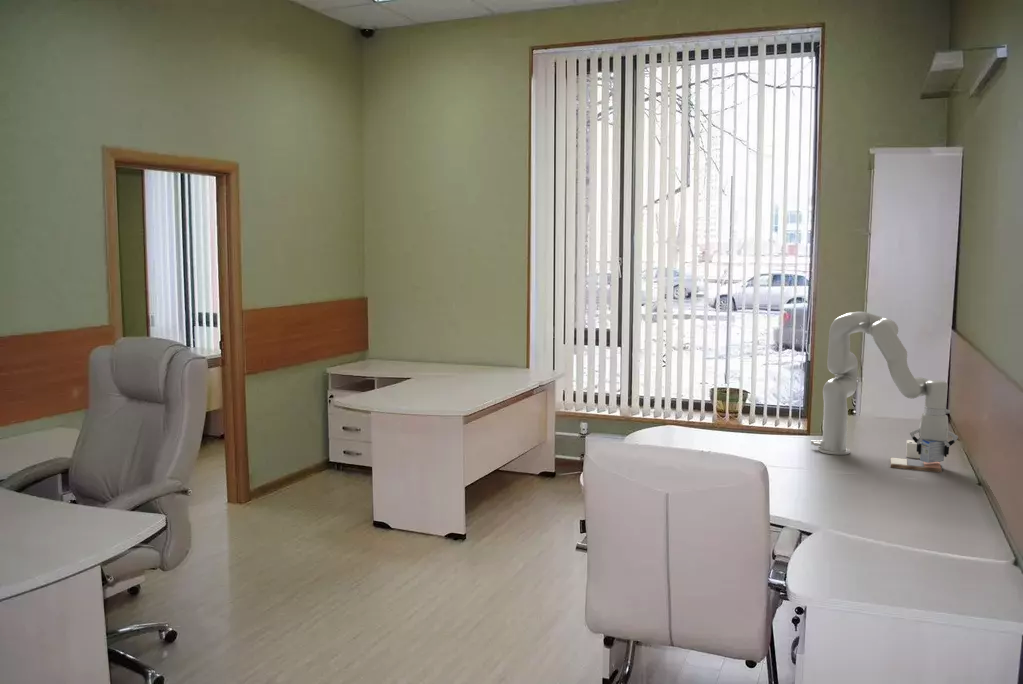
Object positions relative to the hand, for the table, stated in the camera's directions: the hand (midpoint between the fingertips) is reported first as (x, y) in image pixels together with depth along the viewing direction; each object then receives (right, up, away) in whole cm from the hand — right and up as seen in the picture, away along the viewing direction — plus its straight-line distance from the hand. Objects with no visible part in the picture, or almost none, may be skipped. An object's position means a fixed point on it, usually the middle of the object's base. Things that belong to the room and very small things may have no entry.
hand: (932, 454), depth 339 cm
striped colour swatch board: (-5, -5, +3) cm, 8 cm away
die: (+1, -3, +18) cm, 19 cm away
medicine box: (0, -3, +1) cm, 3 cm away
